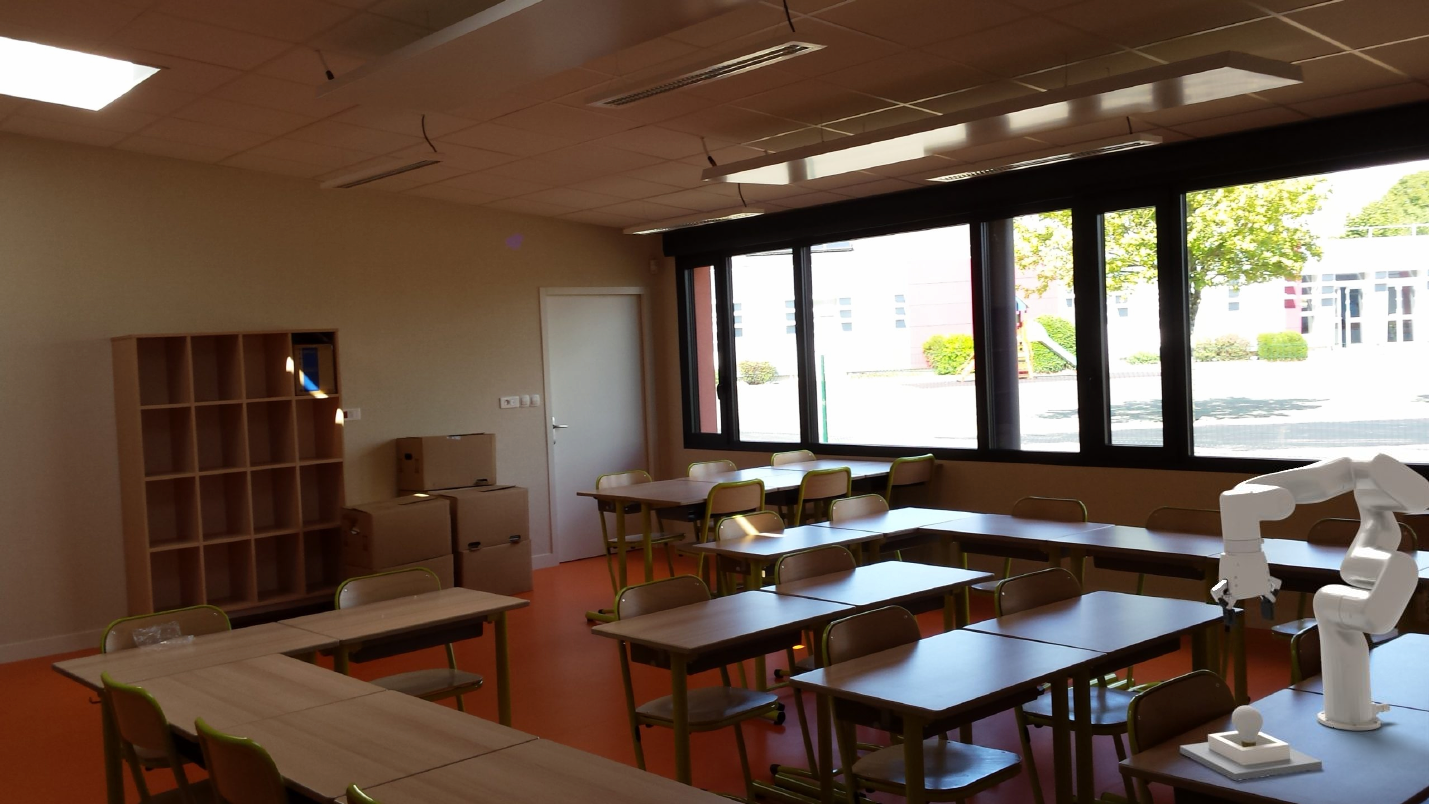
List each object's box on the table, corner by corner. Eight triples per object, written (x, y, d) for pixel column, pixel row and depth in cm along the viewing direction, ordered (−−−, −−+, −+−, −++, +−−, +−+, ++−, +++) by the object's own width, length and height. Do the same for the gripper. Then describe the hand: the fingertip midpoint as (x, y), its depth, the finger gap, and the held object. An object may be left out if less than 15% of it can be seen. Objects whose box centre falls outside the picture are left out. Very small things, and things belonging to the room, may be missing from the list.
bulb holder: (1261, 741, 235) (1259, 721, 235) (1322, 768, 217) (1320, 746, 217) (1180, 752, 231) (1179, 732, 231) (1235, 781, 213) (1234, 758, 213)
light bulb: (1268, 757, 221) (1265, 710, 221) (1238, 757, 222) (1235, 710, 222) (1259, 748, 226) (1257, 701, 226) (1230, 748, 228) (1227, 702, 228)
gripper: (1263, 539, 240) (1270, 613, 240) (1197, 548, 236) (1204, 624, 237) (1288, 543, 233) (1295, 620, 233) (1220, 553, 229) (1227, 631, 229)
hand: (1249, 622), depth 235 cm, fingers open, 9 cm apart
